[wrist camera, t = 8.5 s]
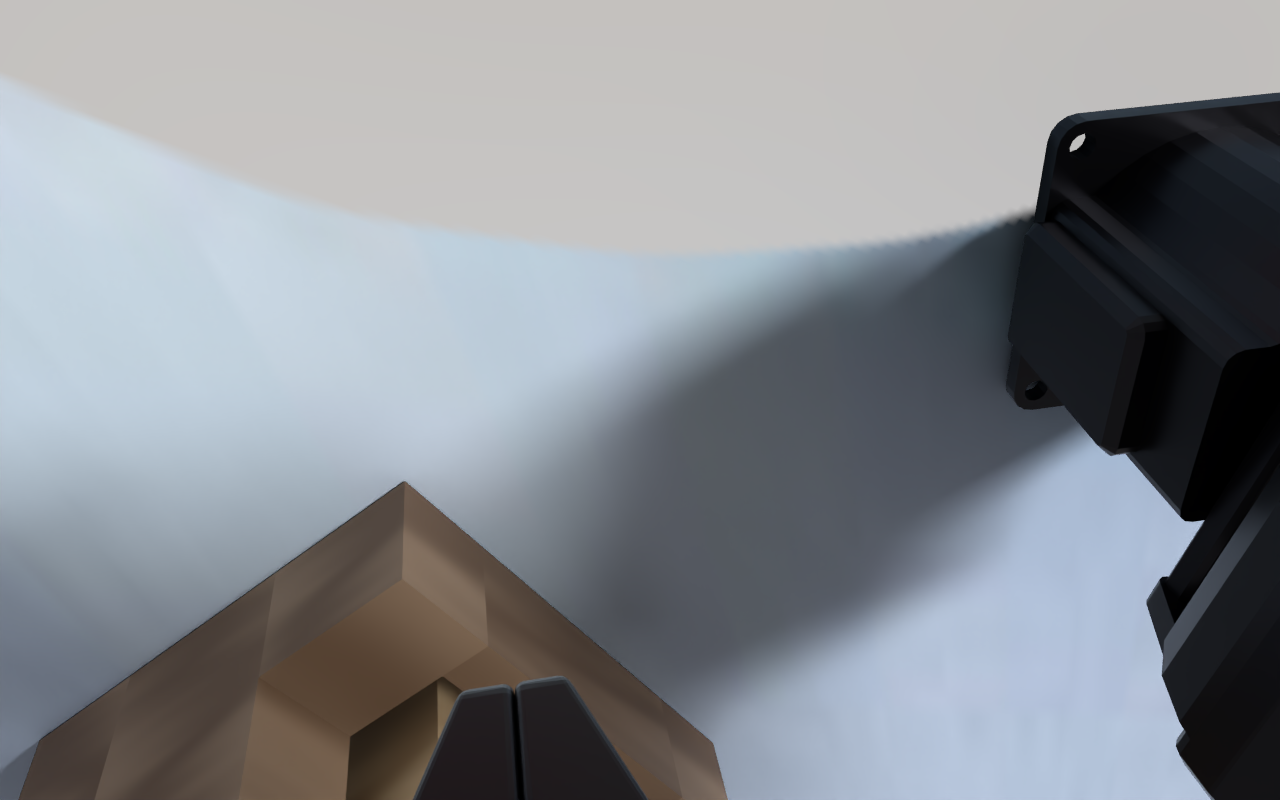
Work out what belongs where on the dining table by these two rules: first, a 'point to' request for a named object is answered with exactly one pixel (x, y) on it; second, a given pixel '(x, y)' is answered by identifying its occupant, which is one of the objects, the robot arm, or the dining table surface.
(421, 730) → the peg
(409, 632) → the socket
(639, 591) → the dining table surface
